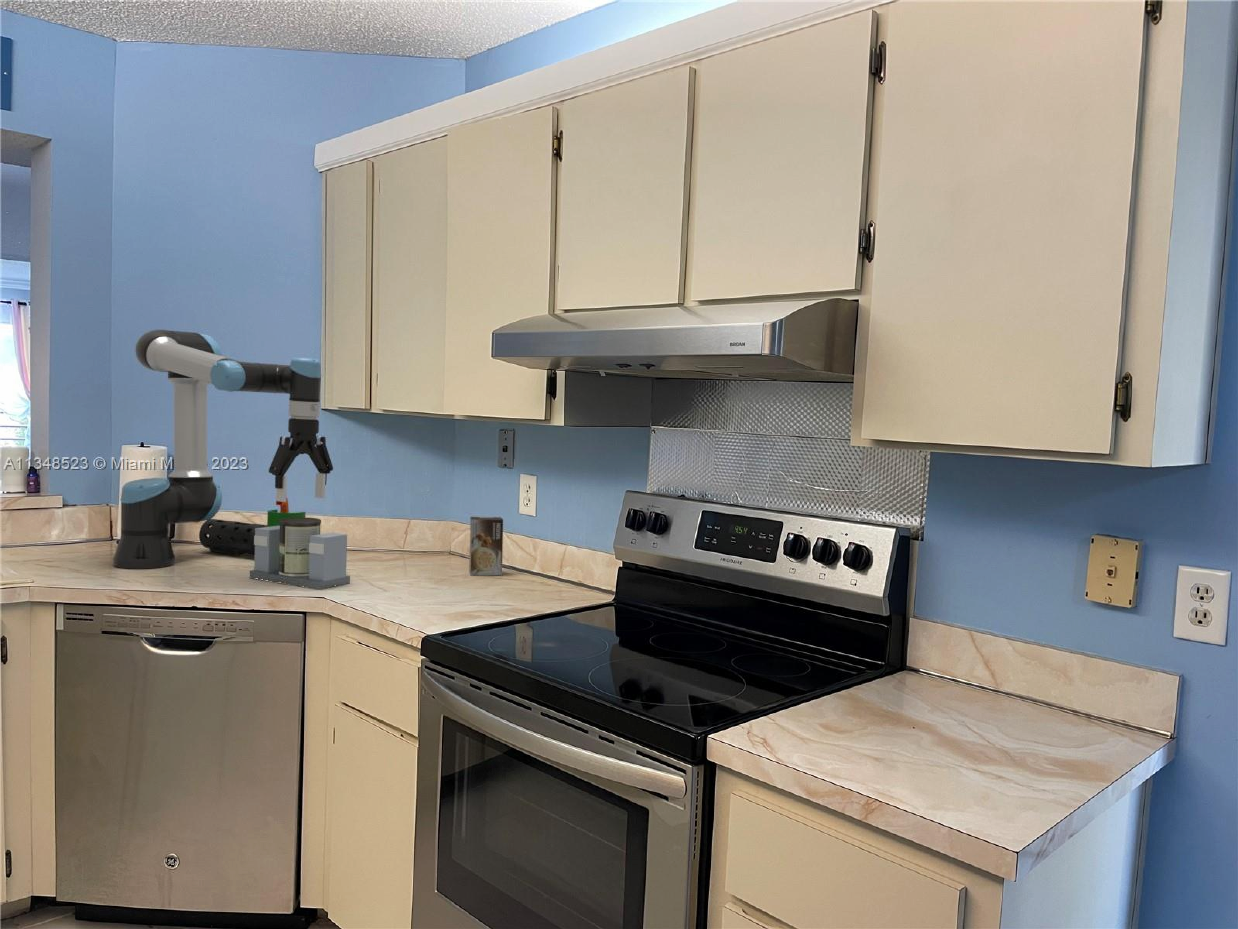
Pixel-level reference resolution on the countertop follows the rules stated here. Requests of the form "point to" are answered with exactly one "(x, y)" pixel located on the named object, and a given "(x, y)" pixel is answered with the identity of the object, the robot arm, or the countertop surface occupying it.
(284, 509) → the green tall piece
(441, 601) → the countertop surface
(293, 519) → the coffee can
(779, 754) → the countertop surface
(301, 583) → the rail plate
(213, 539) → the muzzle brake
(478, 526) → the coffee box
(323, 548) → the mounted blocks
